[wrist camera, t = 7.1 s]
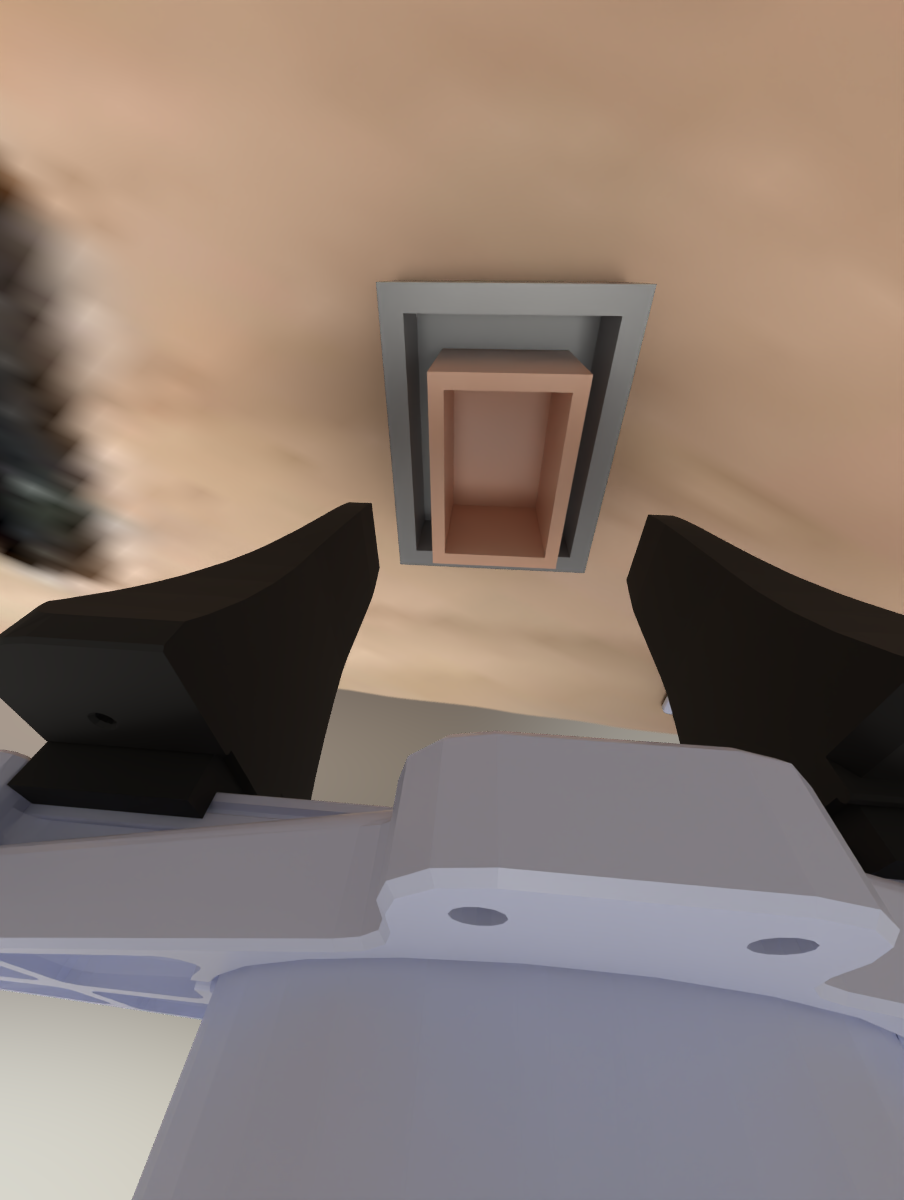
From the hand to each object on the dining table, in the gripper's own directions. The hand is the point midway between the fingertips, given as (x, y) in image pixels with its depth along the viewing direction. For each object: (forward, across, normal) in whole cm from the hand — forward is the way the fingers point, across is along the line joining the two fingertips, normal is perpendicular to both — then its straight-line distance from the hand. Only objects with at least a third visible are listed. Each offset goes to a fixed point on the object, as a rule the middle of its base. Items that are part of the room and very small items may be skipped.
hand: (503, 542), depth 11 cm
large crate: (+10, 0, 0) cm, 10 cm away
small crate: (+9, 0, 0) cm, 9 cm away
